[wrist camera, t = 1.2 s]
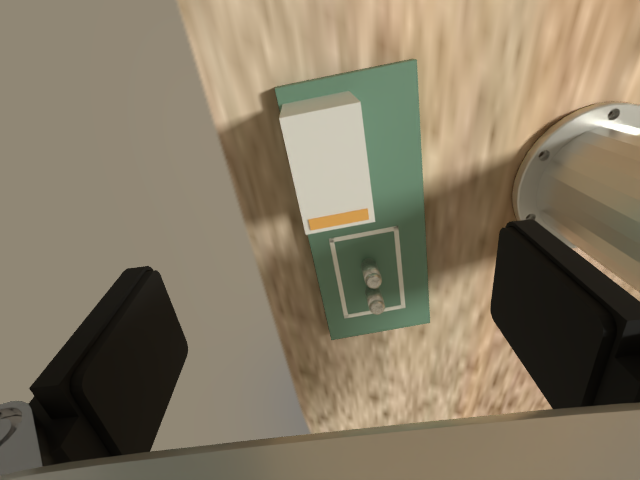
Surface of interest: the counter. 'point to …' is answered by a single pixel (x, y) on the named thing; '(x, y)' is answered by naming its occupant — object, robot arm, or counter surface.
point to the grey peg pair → (373, 286)
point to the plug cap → (328, 161)
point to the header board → (377, 205)
